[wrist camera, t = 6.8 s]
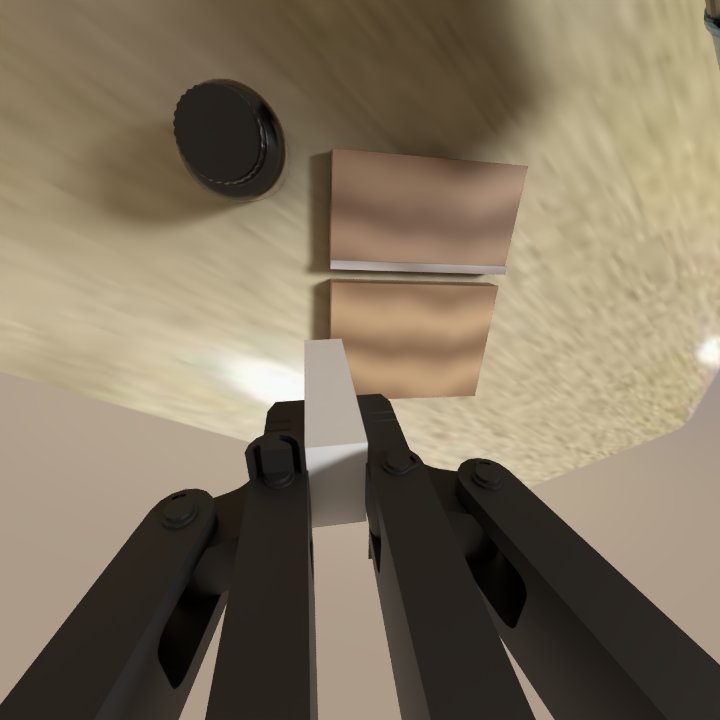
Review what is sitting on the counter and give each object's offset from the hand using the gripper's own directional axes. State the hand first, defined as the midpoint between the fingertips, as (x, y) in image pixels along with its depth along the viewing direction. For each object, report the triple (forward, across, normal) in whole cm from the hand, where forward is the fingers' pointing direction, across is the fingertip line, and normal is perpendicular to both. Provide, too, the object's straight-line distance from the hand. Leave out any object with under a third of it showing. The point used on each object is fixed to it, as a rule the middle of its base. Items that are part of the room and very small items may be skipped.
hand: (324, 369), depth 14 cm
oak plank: (+22, +10, -8) cm, 26 cm away
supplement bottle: (+23, -5, +9) cm, 25 cm away
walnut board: (+22, +11, +5) cm, 25 cm away
